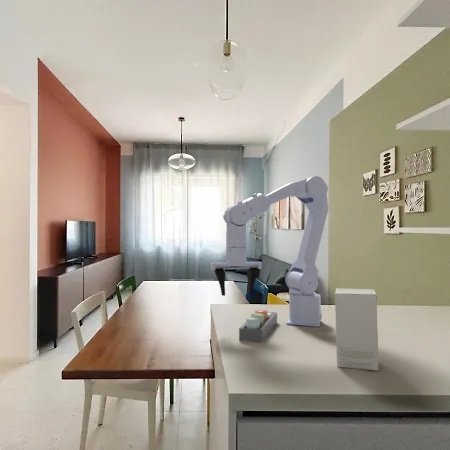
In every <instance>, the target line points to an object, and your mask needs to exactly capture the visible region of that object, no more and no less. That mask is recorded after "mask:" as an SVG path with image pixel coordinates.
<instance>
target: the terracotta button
mask: <svg viewBox="0 0 450 450" xmlns="http://www.w3.org/2000/svg"><path fill="white" fill-rule="evenodd" d="M268 312H269V311H268V310H267V309H256V310H255V311H254V314H255V313H258V314H263V315H264V320H266V321H267V320H268Z"/></svg>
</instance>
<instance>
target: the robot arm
mask: <svg viewBox="0 0 450 450" xmlns="http://www.w3.org/2000/svg"><path fill="white" fill-rule="evenodd" d="M328 191H329V186H328V184H327V183H326V181H325V180H324V179H323V178H322V177H321V176H318V175H315V176H311V177H308V178H304V179H299V180H297V181H292V182H289V183H287V184H285V185H283V186H281V187H279V188H277V189H275V190H273V191H271V192H270V193H268V194H263V193H253V194H251V195H250V196H251V197H249V198H247V199H245V200H239V201H237V204H236V205H231V206H228V207H227V208H226V209H225V211H224V214H223V217H222V218H223V221H224V222H225V223H226V233H225V234H226V235H225V236H226V237H225V238H226V243H225V244H226V247H225V248H226V249H225V250H226V251H225V252H226V256H225V257H226V261H217V262H210V270H211V271H214V274H215V276H216V278H217V281H218V284H219V287H220V288H219V289H220V292H221V295H222V296H224V297H225V296H226V281H225V280H226V272H225V270H246V276H247V289H246V291H247V295H252V293H253V289H254V284H255V282H256V280H257V278H258V275H259V273H260V270H262V269H263V267H262V266H263V263H262V261H247V223H248V222H249V221H250V220H252V219H255V218H256V217H258V216H260V215H262V214H265V213H266V212H268V211H269V210H270V206H272V205H273V204H275V203H278V202H280V201H282V200H285V199H287V198H289V197H291V198H294V197H295V198H297V200H298V201H300V202H301V203H302V204H303V205H305V207H306V208H307V210H308V215H307V218H306V223H305V226H304V231H303V235H302V239H301V242H300V247H299V251H298V253H297V259H296V260H294V262H293V263H292V264H291V266H290V269H289V270H288V272H287V273H286V276H285V279H284V280H285V284H286V286H287V287H288V292H289V295H288V296H289V302H288V303H289V305H288V307H289V310H288V311H289V316H288V317H289V318H288V319H287V320H286V323H285V324H287V325H294V326H296V325H297V326H306V327H318V328H320V325H321V322H322V314H323V313H322V311H321V310H322V304H321V303H322V299H321V298H322V297H321V296H322V295H321V294H319V293H315V292H316V291H317V289H318V287H319V279H318V275H319V270H318V268H317V266H316V260H317V256H318V252H319V249H320V245H321V240H322V237H323V233H324V232H323V231H324V228H325V224H326V220H327V216H328V213H329V212H328V211H329V203H328Z"/></svg>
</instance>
